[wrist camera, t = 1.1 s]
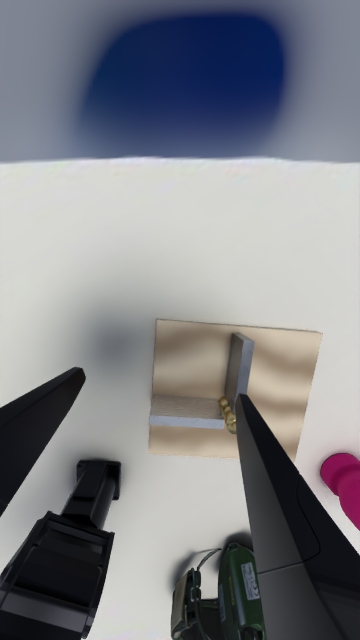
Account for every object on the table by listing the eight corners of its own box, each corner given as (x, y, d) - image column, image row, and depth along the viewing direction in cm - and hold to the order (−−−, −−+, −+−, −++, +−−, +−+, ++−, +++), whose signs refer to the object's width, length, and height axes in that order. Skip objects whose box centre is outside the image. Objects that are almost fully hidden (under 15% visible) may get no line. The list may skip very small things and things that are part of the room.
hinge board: (289, 455, 26) (294, 462, 25) (149, 447, 25) (148, 453, 24) (316, 331, 23) (322, 333, 22) (157, 319, 22) (156, 320, 21)
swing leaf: (233, 412, 23) (244, 434, 19) (218, 411, 23) (226, 433, 19) (245, 333, 21) (259, 341, 18) (228, 332, 21) (239, 340, 18)
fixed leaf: (236, 395, 23) (250, 420, 19) (233, 411, 23) (247, 438, 19) (154, 390, 23) (149, 413, 18) (153, 406, 23) (147, 432, 19)
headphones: (212, 564, 22) (147, 614, 27) (325, 799, 14) (199, 802, 19) (247, 497, 32) (194, 543, 37) (325, 609, 23) (242, 647, 29)
